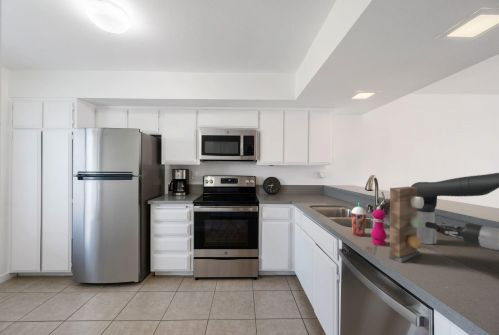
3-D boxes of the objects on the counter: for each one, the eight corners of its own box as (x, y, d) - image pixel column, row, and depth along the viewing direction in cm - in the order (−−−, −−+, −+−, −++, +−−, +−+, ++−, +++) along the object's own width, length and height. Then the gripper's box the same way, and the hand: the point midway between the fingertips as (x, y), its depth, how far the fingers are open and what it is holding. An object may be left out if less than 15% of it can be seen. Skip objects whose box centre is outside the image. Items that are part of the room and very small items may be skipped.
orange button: (420, 247, 97) (420, 236, 97) (414, 249, 94) (414, 238, 94) (412, 245, 99) (412, 234, 99) (407, 247, 97) (407, 236, 97)
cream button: (423, 207, 95) (423, 196, 95) (418, 209, 93) (418, 197, 93) (415, 206, 98) (415, 195, 98) (410, 207, 95) (410, 196, 95)
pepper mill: (388, 246, 112) (389, 208, 112) (373, 245, 113) (374, 207, 113) (383, 241, 119) (383, 205, 119) (369, 240, 121) (369, 205, 120)
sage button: (423, 228, 95) (423, 216, 95) (418, 229, 93) (418, 218, 93) (415, 226, 98) (415, 215, 98) (410, 227, 96) (410, 216, 96)
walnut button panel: (419, 254, 102) (420, 187, 102) (401, 262, 93) (401, 189, 93) (407, 251, 106) (408, 186, 106) (389, 258, 98) (389, 188, 97)
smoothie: (365, 237, 125) (365, 203, 125) (350, 235, 130) (350, 202, 130) (366, 234, 132) (366, 201, 132) (351, 231, 137) (351, 200, 137)
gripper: (490, 223, 81) (433, 213, 96) (478, 228, 74) (419, 217, 89) (489, 243, 81) (432, 230, 96) (477, 250, 74) (418, 235, 89)
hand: (426, 224), depth 93 cm, fingers closed
